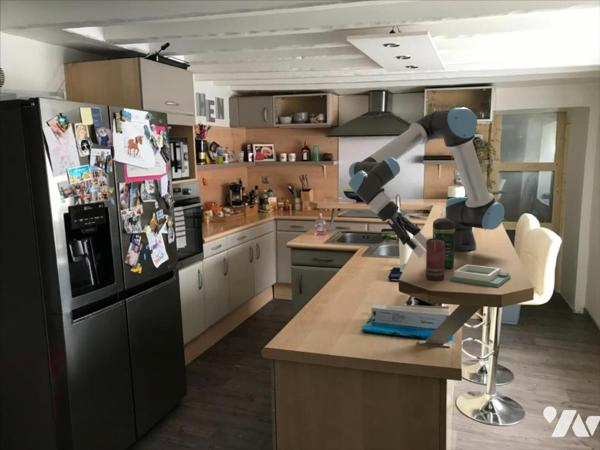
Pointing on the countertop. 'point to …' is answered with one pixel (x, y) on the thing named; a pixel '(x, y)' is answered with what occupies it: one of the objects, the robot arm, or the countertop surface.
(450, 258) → the coffee jar
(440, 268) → the can
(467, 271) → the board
